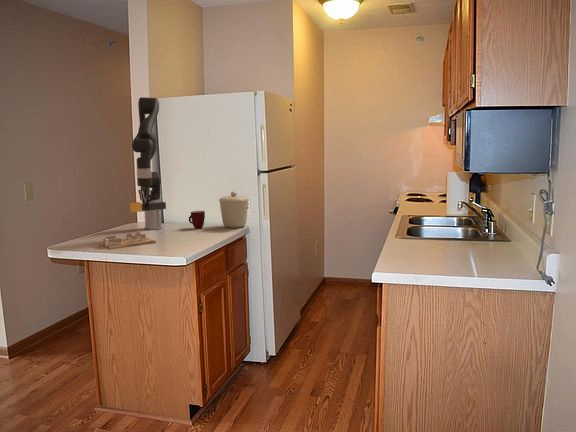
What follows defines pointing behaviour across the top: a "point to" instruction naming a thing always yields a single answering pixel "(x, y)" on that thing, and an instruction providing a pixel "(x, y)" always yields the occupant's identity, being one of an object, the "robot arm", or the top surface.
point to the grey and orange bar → (141, 207)
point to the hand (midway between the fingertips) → (146, 209)
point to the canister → (234, 210)
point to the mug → (197, 219)
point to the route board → (126, 241)
